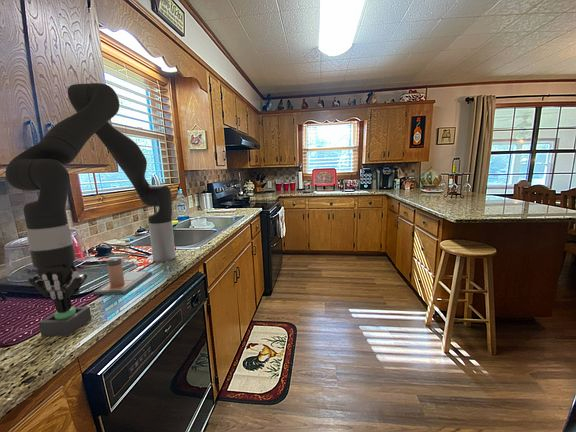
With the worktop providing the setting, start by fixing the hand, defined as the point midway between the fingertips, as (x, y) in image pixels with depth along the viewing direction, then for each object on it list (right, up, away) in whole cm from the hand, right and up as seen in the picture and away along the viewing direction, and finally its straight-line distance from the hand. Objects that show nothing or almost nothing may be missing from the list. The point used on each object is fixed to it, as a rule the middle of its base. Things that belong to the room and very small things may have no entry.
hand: (64, 310), depth 62 cm
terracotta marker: (-1, 0, +21) cm, 22 cm away
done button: (0, -2, 0) cm, 2 cm away
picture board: (-1, 0, +25) cm, 26 cm away
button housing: (0, -4, +1) cm, 5 cm away
